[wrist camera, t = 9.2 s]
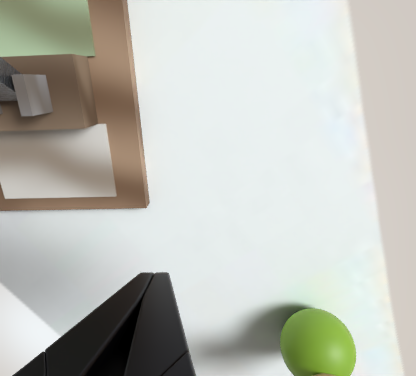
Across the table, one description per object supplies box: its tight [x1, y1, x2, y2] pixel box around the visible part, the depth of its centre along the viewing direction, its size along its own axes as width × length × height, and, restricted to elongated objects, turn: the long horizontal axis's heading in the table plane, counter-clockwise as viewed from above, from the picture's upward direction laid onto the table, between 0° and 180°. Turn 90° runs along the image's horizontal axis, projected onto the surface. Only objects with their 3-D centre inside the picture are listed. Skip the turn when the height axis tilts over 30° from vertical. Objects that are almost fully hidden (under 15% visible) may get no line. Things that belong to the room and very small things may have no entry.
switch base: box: [0, 0, 149, 211], centre depth 17 cm, size 16×12×5 cm
